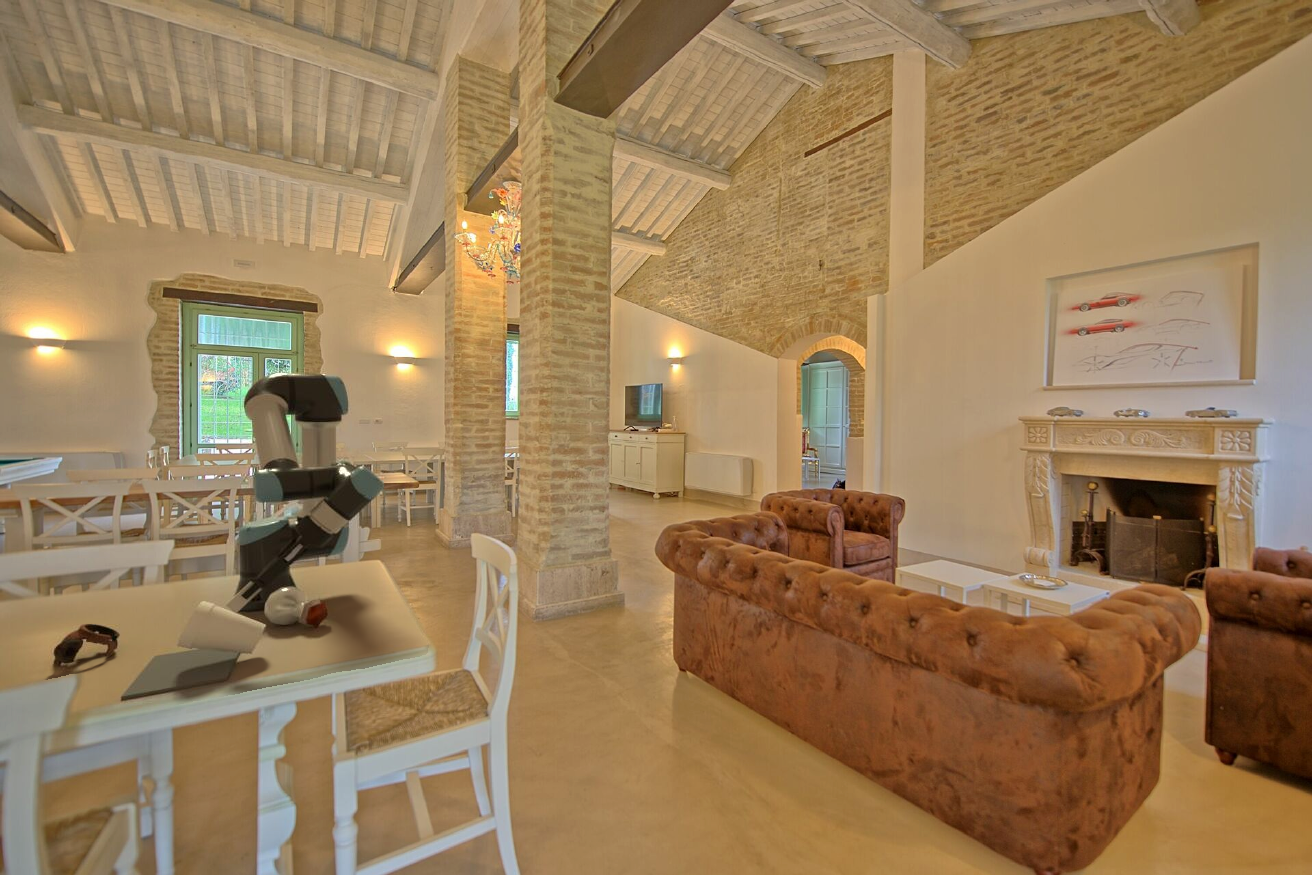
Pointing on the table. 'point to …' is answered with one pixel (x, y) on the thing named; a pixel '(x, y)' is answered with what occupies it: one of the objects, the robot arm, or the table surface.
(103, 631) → the brown curved ring piece
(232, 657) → the mat
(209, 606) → the foam cup
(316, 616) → the potion bottle
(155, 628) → the table surface
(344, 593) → the table surface
